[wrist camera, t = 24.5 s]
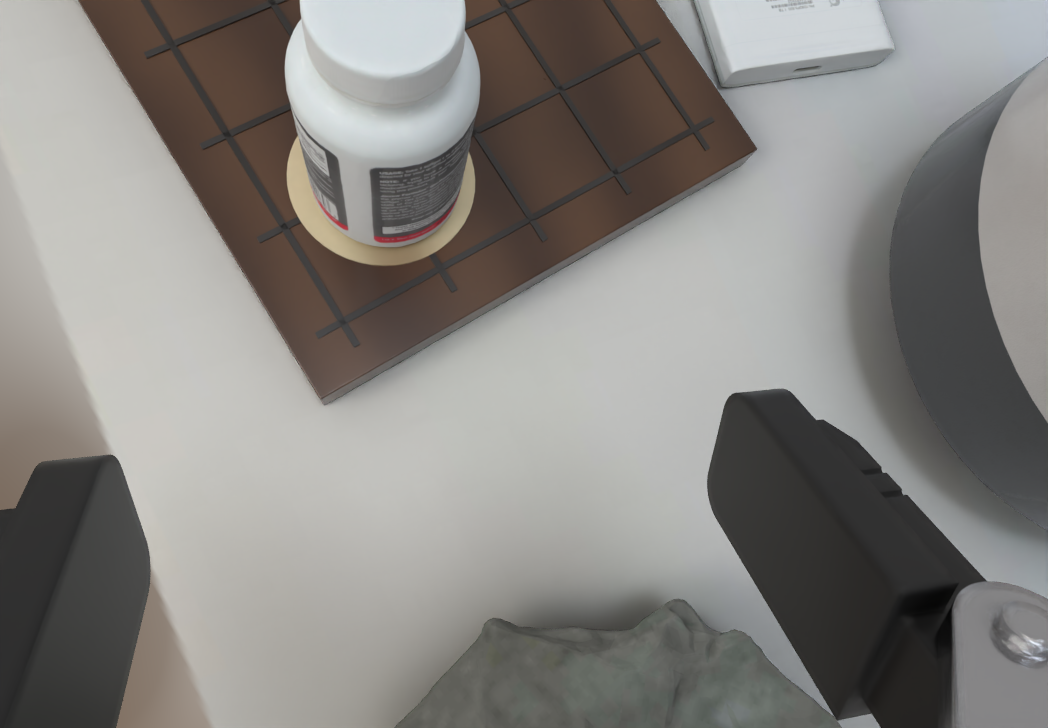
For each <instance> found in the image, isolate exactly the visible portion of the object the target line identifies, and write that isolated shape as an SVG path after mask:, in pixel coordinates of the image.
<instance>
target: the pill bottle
mask: <svg viewBox="0 0 1048 728" xmlns="http://www.w3.org/2000/svg"><path fill="white" fill-rule="evenodd" d="M300 13H301V20H300V21H299V22H298V24H297V26H296V27H295V29H294V31H293V33H292V36H291V38H290V41H289V43H288V47H287V51H286V58H285V80H286V91H287V94H288V98H289V101H290V105H291V109H292V113H293V117H294V121H295V125H296V130H297V133H298V137H299V141H300V146H301V149H302V153H303V157H304V161H305V165H306V169H307V174H308V178H309V182H310V186H311V188H312V192H313V195H314V198H315V200H316V203H317V205H318V206H319V208H320V210H321V211H322V213H323V214H324V216H325V217H326V218H327V220H328V221H329V222H330V223H331V224H332V225H333V226H334V227H335V228H336V229H338V230H339V231H340V232H342V233H343V234H345V235H346V236H348V237H350V238H352V239H353V240H355V241H358V242H361V243H364V244H367V245H372V246H378V247H402V246H405V245H409V244H412V243H415V242H418V241H420V240H422V239H425V238H426V237H428V236H430V235H431V234H433V233H434V232H436V231H437V230H438V229H439V228H440V227H441V226H442V225H443V224H444V223H445V222H446V221H447V220H448V218H449V217H450V215H451V214H452V212H453V210H454V208H455V205H456V203H457V200H458V197H459V193H460V189H461V185H462V181H463V176H464V171H465V166H466V162H467V157H468V152H469V147H470V143H471V136H472V131H473V127H474V122H475V118H476V113H477V109H478V106H479V98H480V68H479V64H478V59H477V56H476V52H475V50H474V47H473V45H472V42H471V40H470V39H469V37H468V35H467V33H466V32H465V22H466V8H465V1H464V0H300Z"/></svg>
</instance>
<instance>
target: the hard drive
mask: <svg viewBox="0 0 1048 728" xmlns="http://www.w3.org/2000/svg"><path fill="white" fill-rule="evenodd" d="M694 3H695V6H696V9H697V12H698V15H699V18H700V22H701V25H702V28H703V31H704V34H705V37H706V40H707V44H708V47H709V50H710V53H711V56H712V59H713V62H714V66H715V69H716V72H717V75H718V78H719V82H720V85H721V87H737V86H744V85H751V84H758V83H766V82H772V81H779V80H786V79H792V78H799V77H806V76H813V75H820V74H827V73H834V72H840V71H847V70H854V69H860V68H867V67H871V66H874V65H877V64H879V63H881V62H882V61H883V60H884V59H885V58H886V57H888V56H889V55H890V54H891V53H892V52H893V51H894V50H895V47H894V44H893V41H892V38H891V35H890V33H889V30H888V27H887V25H886V22H885V19H884V17H883V14H882V11H881V8H880V5H879V2H878V0H694Z"/></svg>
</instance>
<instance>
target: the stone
mask: <svg viewBox="0 0 1048 728" xmlns="http://www.w3.org/2000/svg"><path fill="white" fill-rule="evenodd" d="M394 728H842V727H841V726H840V725H839V723H838V722H837V720H836V718H835V717H834V716H832V715H831V714H830V713H828V712H827V711H826V710H825V709H823V708H822V707H821V706H820V705H819V704H818V703H817V702H816V701H815V700H814V699H812V698H811V697H810V696H809V695H807V694H806V693H805V692H804V691H803V690H801V689H800V688H799V687H798V686H796V685H795V684H794V683H792V682H791V681H790V680H789V679H787V678H786V677H785V676H784V675H783V674H782V673H781V672H780V671H779V670H778V669H777V668H776V667H775V666H774V665H773V664H772V663H771V662H770V661H769V660H768V659H767V658H766V657H765V655H764V653H763V652H762V650H761V649H760V648H759V647H758V646H757V645H756V644H755V643H754V642H753V640H752V639H751V637H750V636H748V635H747V634H746V633H744V632H742V631H738V630H735V629H734V630H732V631H729V632H726V633H720V632H717V631H714V630H711V629H710V628H709V627H708V626H707V625H705V624H704V623H703V621H702V620H701V619H700V617H699V616H698V615H697V613H696V612H695V611H694V610H693V609H692V607H691V606H690V605H689V604H688V603H687V602H686V601H684V600H681V599H673V600H671V601H669V602H668V603H666V604H665V605H663V606H662V607H661V608H659V609H658V610H657V611H655V612H654V613H652V614H651V615H649V616H647V617H646V618H644V619H643V620H642V621H641V622H640V623H639V624H638V625H637V626H636V627H635V628H633V629H629V630H619V631H608V630H591V629H583V628H577V627H568V628H558V629H540V628H531V627H518V626H516V625H514V624H512V623H510V622H507V621H504V620H502V619H497V618H493V619H490V620H488V621H487V622H486V623H485V624H484V627H483V630H482V633H481V635H480V636H479V637H478V639H477V640H476V642H475V643H474V644H473V645H472V646H471V647H470V648H469V649H468V650H467V651H466V652H465V654H464V655H463V656H462V657H461V658H460V659H459V660H458V661H457V662H456V663H455V664H454V665H453V666H452V667H451V668H450V669H449V670H448V671H447V672H446V673H445V674H444V675H443V676H442V677H441V678H440V679H439V681H438V682H437V683H436V684H435V685H434V686H433V688H432V689H431V690H430V692H429V693H428V694H427V696H426V697H425V698H424V699H423V700H422V701H421V702H420V704H419V705H418V706H417V707H415V708H414V709H413V710H412V711H411V712H410V713H409V714H408V715H407V716H406V717H405V718H404V719H403V720H402V721H401V722H399V723H398V724H397V725H396V726H395V727H394Z"/></svg>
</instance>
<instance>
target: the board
mask: <svg viewBox="0 0 1048 728" xmlns="http://www.w3.org/2000/svg"><path fill="white" fill-rule="evenodd" d="M78 1H79V3H80V5H81V6H82V8H83V9H84V11H85V13H86V14H87V16H88V18H89V19H90V21H91V23H92V24H93V26H94V28H95V29H96V31H97V33H98V34H99V36H100V37H101V39H102V41H103V42H104V44H105V46H106V47H107V49H108V51H109V52H110V54H111V56H112V57H113V59H114V61H115V62H116V64H117V65H118V67H119V69H120V70H121V72H122V74H123V75H124V77H125V79H126V80H127V82H128V84H129V85H130V87H131V89H132V90H133V92H134V93H135V95H136V97H137V98H138V100H139V102H140V103H141V105H142V107H143V108H144V110H145V112H146V113H147V115H148V117H149V118H150V120H151V121H152V123H153V125H154V126H155V128H156V130H157V131H158V133H159V135H160V136H161V138H162V140H163V141H164V143H165V145H166V146H167V148H168V149H169V151H170V153H171V154H172V156H173V158H174V159H175V161H176V163H177V164H178V166H179V168H180V169H181V171H182V173H183V174H184V176H185V177H186V179H187V181H188V182H189V184H190V186H191V187H192V189H193V191H194V192H195V194H196V196H197V197H198V199H199V201H200V202H201V204H202V205H203V207H204V209H205V210H206V212H207V214H208V215H209V217H210V219H211V220H212V222H213V224H214V225H215V227H216V229H217V230H218V232H219V233H220V235H221V237H222V238H223V240H224V242H225V243H226V245H227V247H228V248H229V250H230V252H231V253H232V255H233V257H234V258H235V260H236V261H237V263H238V265H239V266H240V268H241V270H242V271H243V273H244V275H245V276H246V278H247V280H248V281H249V283H250V285H251V286H252V288H253V289H254V291H255V293H256V294H257V296H258V298H259V299H260V301H261V303H262V304H263V306H264V308H265V309H266V311H267V313H268V314H269V316H270V317H271V319H272V321H273V322H274V324H275V326H276V327H277V329H278V331H279V332H280V334H281V336H282V337H283V339H284V341H285V342H286V344H287V345H288V347H289V349H290V350H291V352H292V354H293V355H294V357H295V359H296V360H297V362H298V364H299V365H300V367H301V369H302V370H303V372H304V373H305V375H306V377H307V378H308V380H309V382H310V383H311V385H312V387H313V388H314V390H315V392H316V393H317V395H318V397H319V398H320V400H321V401H322V403H323V404H324V405H327V404H328V403H330V402H332V401H333V400H335V399H337V398H339V397H340V396H342V395H344V394H346V393H347V392H349V391H351V390H353V389H354V388H356V387H358V386H360V385H361V384H363V383H365V382H366V381H368V380H370V379H372V378H373V377H375V376H377V375H379V374H380V373H382V372H384V371H386V370H387V369H389V368H391V367H392V366H394V365H396V364H398V363H399V362H401V361H403V360H405V359H406V358H408V357H410V356H412V355H413V354H415V353H417V352H419V351H420V350H422V349H424V348H425V347H427V346H429V345H431V344H432V343H434V342H436V341H438V340H439V339H441V338H443V337H445V336H446V335H448V334H450V333H451V332H453V331H455V330H457V329H458V328H460V327H462V326H464V325H465V324H467V323H469V322H471V321H472V320H474V319H476V318H477V317H479V316H481V315H483V314H484V313H486V312H488V311H490V310H491V309H493V308H495V307H497V306H498V305H500V304H502V303H504V302H505V301H507V300H509V299H510V298H512V297H514V296H516V295H517V294H519V293H521V292H523V291H524V290H526V289H528V288H530V287H531V286H533V285H535V284H536V283H538V282H540V281H542V280H543V279H545V278H547V277H549V276H550V275H552V274H554V273H556V272H557V271H559V270H561V269H562V268H564V267H566V266H568V265H569V264H571V263H573V262H575V261H576V260H578V259H580V258H582V257H583V256H585V255H587V254H589V253H590V252H592V251H594V250H595V249H597V248H599V247H601V246H602V245H604V244H606V243H608V242H609V241H611V240H613V239H615V238H616V237H618V236H620V235H621V234H623V233H625V232H627V231H628V230H630V229H632V228H634V227H635V226H637V225H639V224H641V223H642V222H644V221H646V220H648V219H649V218H651V217H653V216H654V215H656V214H658V213H660V212H661V211H663V210H665V209H667V208H668V207H670V206H672V205H674V204H675V203H677V202H679V201H680V200H682V199H684V198H686V197H687V196H689V195H691V194H693V193H694V192H696V191H698V190H700V189H701V188H703V187H705V186H706V185H708V184H710V183H712V182H713V181H715V180H717V179H719V178H720V177H722V176H724V175H726V174H727V173H729V172H731V171H733V170H734V169H736V168H738V167H739V166H741V165H742V164H743V163H744V162H745V161H746V160H747V159H748V158H749V157H750V156H751V155H752V154H753V153H754V152H755V151H756V150H757V148H756V146H755V145H754V143H753V142H752V140H751V139H750V137H749V136H748V134H747V133H746V131H745V130H744V129H743V127H742V126H741V124H740V123H739V121H738V120H737V118H736V117H735V115H734V114H733V112H732V111H731V110H730V108H729V107H728V105H727V104H726V102H725V101H724V99H723V98H722V96H721V95H720V93H719V92H718V90H717V89H716V88H715V86H714V85H713V83H712V82H711V80H710V79H709V77H708V76H707V74H706V73H705V71H704V70H703V69H702V67H701V66H700V64H699V63H698V61H697V60H696V58H695V57H694V55H693V54H692V52H691V51H690V50H689V48H688V47H687V45H686V44H685V42H684V41H683V39H682V38H681V36H680V35H679V33H678V32H677V30H676V29H675V28H674V26H673V25H672V23H671V22H670V20H669V19H668V17H667V16H666V14H665V13H664V11H663V10H662V9H661V7H660V6H659V4H658V3H657V1H656V0H464V1H465V8H466V22H465V32H466V33H467V35H468V37H469V39H470V40H471V42H472V45H473V47H474V50H475V52H476V56H477V59H478V64H479V68H480V98H479V106H478V109H477V113H476V118H475V122H474V127H473V131H472V136H471V143H470V147H469V152H468V157H467V162H466V166H465V171H464V176H463V181H462V185H461V189H460V193H459V197H458V200H457V203H456V205H455V208H454V210H453V212H452V214H451V215H450V217H449V218H448V220H447V221H446V222H445V223H444V224H443V225H442V226H441V227H440V228H439V229H438V230H437V231H436V232H434V233H433V234H431V235H430V236H428V237H426V238H425V239H422V240H420V241H418V242H415V243H412V244H409V245H405V246H402V247H378V246H372V245H367V244H364V243H361V242H358V241H355V240H353V239H352V238H350V237H348V236H346V235H345V234H343V233H342V232H340V231H339V230H338V229H336V228H335V227H334V226H333V225H332V224H331V223H330V222H329V221H328V220H327V218H326V217H325V216H324V214H323V213H322V211H321V210H320V208H319V206H318V205H317V203H316V200H315V198H314V195H313V192H312V188H311V186H310V182H309V178H308V174H307V169H306V165H305V161H304V157H303V153H302V149H301V146H300V141H299V137H298V133H297V130H296V125H295V121H294V117H293V113H292V109H291V105H290V101H289V98H288V94H287V91H286V80H285V58H286V51H287V47H288V43H289V41H290V38H291V36H292V33H293V31H294V29H295V27H296V26H297V24H298V22H299V21H300V20H301V13H300V0H78Z"/></svg>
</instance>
